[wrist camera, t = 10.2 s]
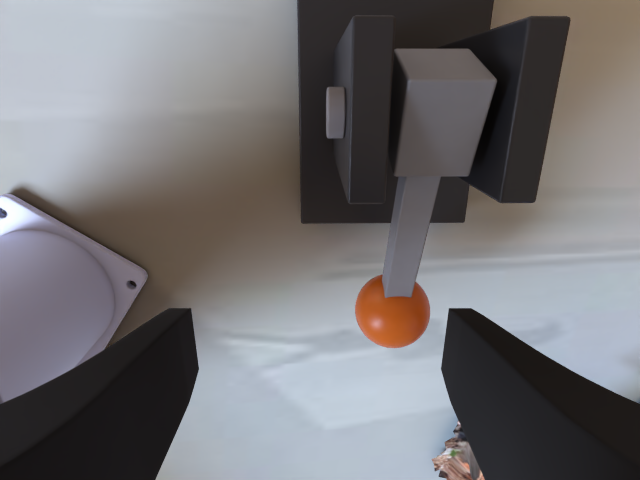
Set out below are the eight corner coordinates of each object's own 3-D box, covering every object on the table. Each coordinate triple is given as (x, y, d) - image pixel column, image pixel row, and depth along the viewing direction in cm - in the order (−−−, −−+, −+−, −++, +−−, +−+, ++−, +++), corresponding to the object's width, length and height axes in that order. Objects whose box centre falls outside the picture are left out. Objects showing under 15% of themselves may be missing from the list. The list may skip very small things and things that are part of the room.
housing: (455, 214, 21) (566, 312, 12) (301, 215, 21) (293, 315, 12) (485, -33, 17) (685, -174, 8) (297, -35, 17) (279, -178, 8)
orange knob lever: (415, 304, 20) (429, 362, 17) (350, 304, 20) (355, 362, 17) (483, 43, 12) (526, 85, 9) (374, 43, 12) (389, 85, 9)
